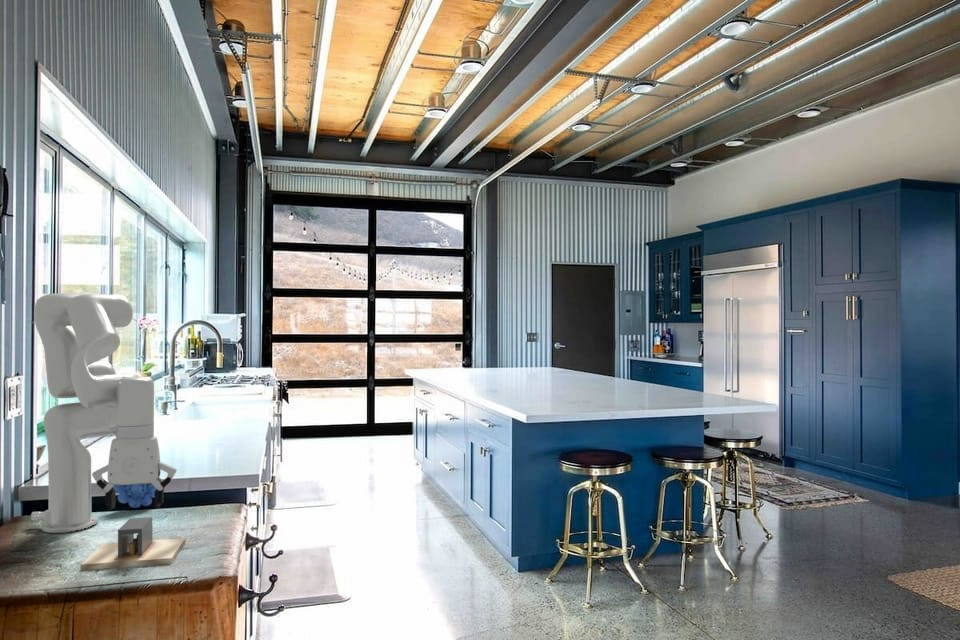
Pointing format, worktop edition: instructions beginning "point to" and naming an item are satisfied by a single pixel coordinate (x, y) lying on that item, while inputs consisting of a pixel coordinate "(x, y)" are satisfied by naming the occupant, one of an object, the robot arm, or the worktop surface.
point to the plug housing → (133, 527)
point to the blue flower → (135, 494)
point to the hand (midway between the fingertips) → (134, 507)
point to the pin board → (134, 554)
